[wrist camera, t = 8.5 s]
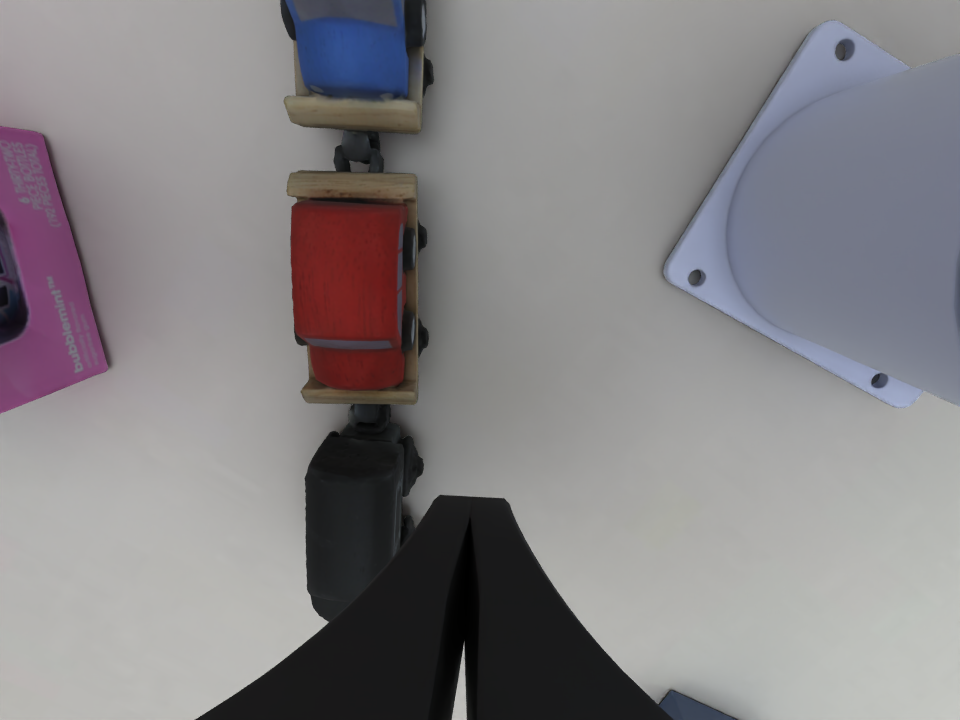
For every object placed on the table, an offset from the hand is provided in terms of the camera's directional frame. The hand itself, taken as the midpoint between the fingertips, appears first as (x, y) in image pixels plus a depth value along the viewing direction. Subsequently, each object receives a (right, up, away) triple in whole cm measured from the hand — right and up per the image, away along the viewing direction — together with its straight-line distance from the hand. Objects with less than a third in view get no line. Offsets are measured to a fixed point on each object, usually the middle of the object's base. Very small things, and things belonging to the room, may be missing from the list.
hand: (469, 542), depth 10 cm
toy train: (-3, +6, +7) cm, 10 cm away
